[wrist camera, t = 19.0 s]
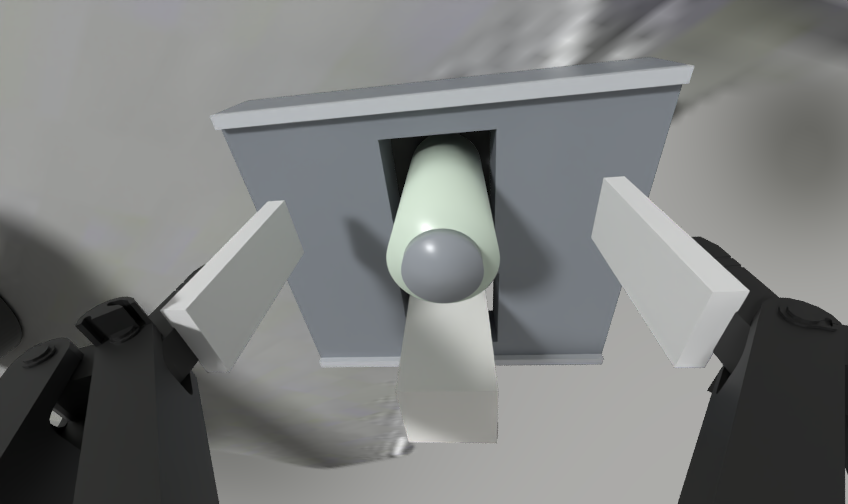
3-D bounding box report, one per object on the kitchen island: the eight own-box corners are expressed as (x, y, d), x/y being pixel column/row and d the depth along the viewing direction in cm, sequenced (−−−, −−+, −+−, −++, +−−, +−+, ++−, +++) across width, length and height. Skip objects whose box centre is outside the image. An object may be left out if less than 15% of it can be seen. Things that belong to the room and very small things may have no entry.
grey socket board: (334, 332, 28) (321, 367, 25) (247, 100, 18) (209, 116, 15) (585, 326, 26) (601, 364, 23) (650, 56, 15) (694, 65, 13)
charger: (421, 307, 26) (408, 442, 17) (414, 259, 23) (394, 391, 15) (482, 305, 25) (497, 443, 17) (481, 255, 23) (499, 391, 14)
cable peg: (406, 136, 18) (372, 226, 10) (480, 128, 18) (503, 217, 10) (415, 201, 21) (393, 316, 13) (481, 196, 20) (501, 312, 12)
